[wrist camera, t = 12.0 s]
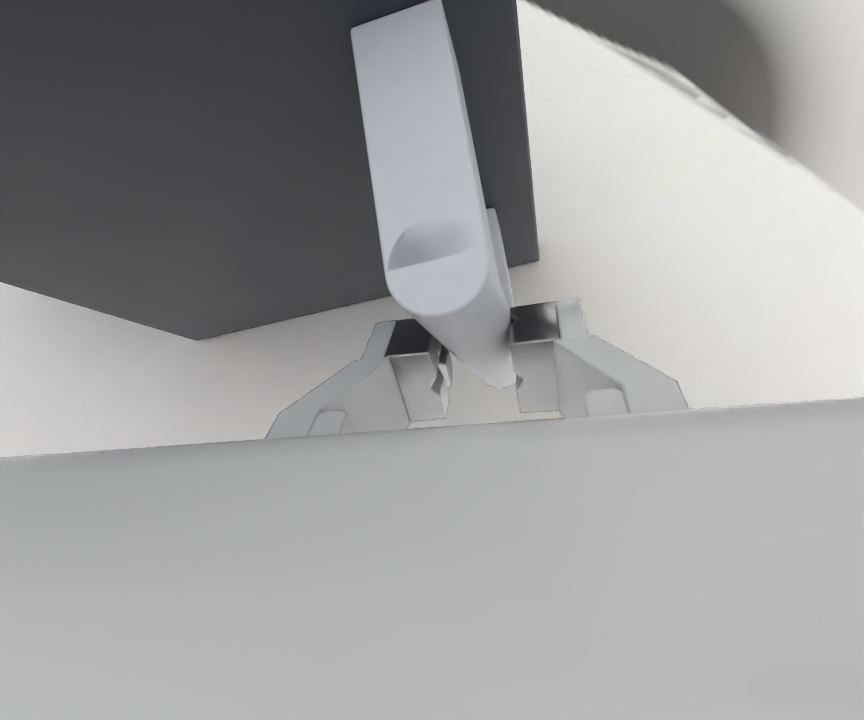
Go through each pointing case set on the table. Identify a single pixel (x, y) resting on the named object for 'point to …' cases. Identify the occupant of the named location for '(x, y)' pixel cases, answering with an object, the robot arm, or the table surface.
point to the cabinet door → (269, 162)
